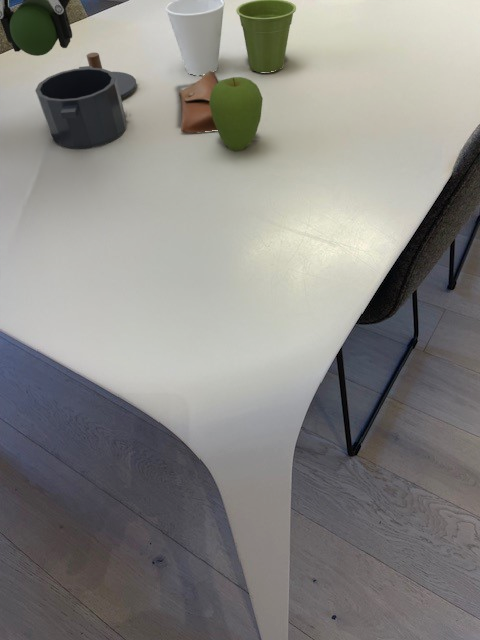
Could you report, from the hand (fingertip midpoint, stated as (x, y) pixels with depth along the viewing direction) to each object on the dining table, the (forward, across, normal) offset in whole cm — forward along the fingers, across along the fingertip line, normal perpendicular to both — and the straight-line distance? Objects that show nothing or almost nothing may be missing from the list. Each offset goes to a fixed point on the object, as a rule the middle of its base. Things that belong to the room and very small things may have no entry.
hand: (42, 44), depth 67 cm
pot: (+19, -1, +14) cm, 24 cm away
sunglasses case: (+19, +20, +18) cm, 33 cm away
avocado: (+1, 0, 0) cm, 1 cm away
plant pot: (+19, +33, +37) cm, 53 cm away
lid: (+19, -2, +31) cm, 36 cm away
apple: (+19, +26, +4) cm, 33 cm away
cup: (+19, +19, +38) cm, 47 cm away
